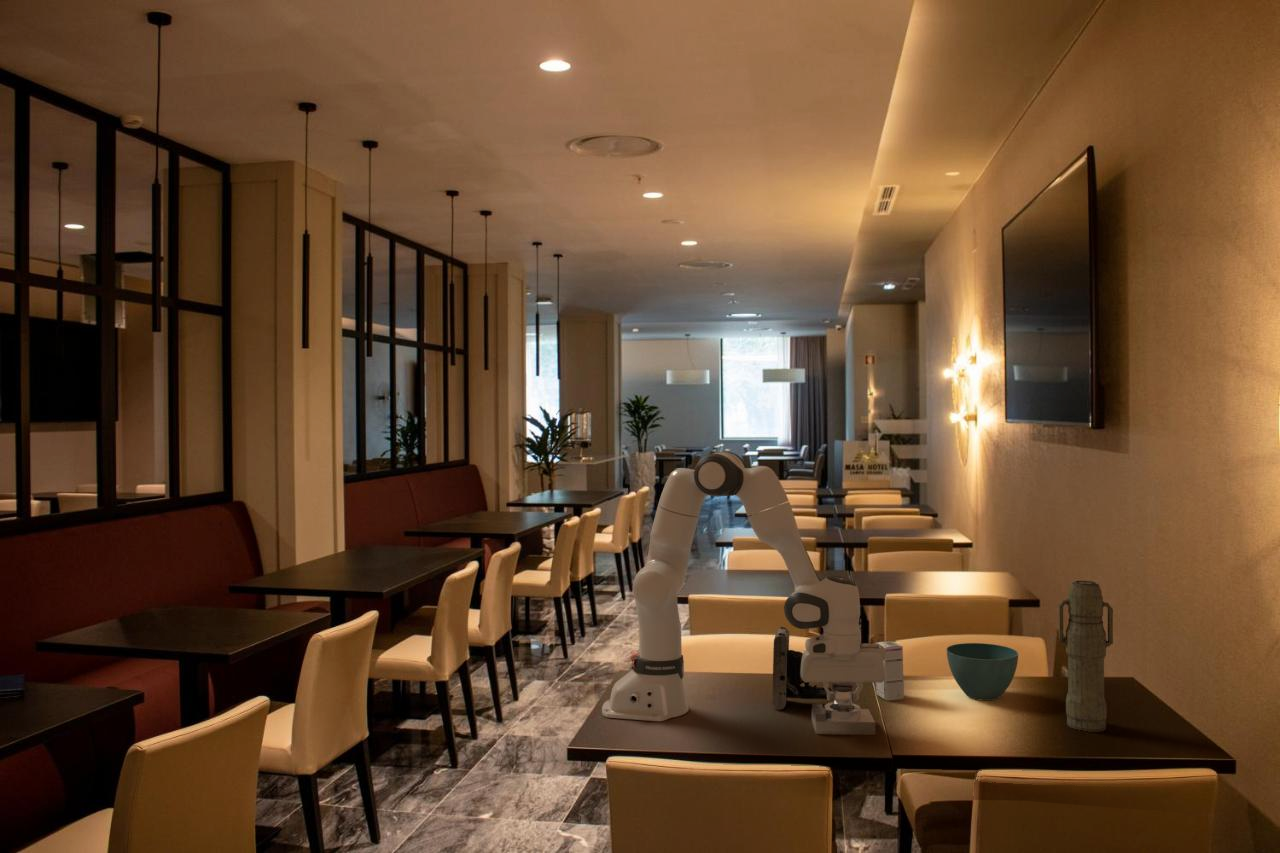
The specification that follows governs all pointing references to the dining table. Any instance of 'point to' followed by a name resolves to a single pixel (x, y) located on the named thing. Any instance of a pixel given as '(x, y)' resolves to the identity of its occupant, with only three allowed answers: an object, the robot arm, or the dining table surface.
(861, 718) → the mount
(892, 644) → the syrup box
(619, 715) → the robot arm
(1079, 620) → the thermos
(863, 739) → the dining table surface
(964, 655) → the teal bowl
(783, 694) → the vintage camera
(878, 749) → the dining table surface
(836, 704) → the knob
